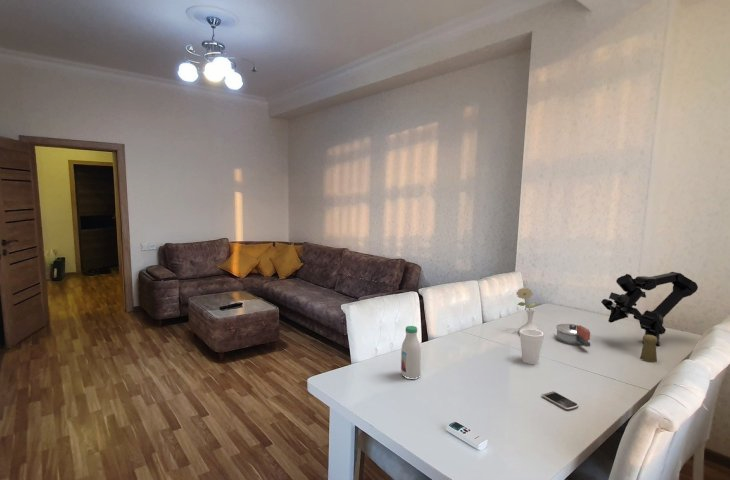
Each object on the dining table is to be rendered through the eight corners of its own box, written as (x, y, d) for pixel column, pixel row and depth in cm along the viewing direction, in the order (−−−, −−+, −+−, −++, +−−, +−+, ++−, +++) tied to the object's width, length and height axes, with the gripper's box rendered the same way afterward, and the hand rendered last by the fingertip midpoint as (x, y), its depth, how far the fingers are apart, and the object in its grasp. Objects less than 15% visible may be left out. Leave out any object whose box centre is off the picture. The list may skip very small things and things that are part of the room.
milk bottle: (422, 373, 155) (422, 325, 153) (418, 381, 148) (419, 331, 146) (403, 370, 158) (404, 323, 156) (399, 378, 151) (399, 329, 149)
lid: (551, 325, 199) (552, 316, 199) (581, 326, 198) (581, 317, 197) (570, 341, 176) (571, 331, 176) (604, 342, 175) (605, 332, 174)
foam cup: (542, 359, 169) (543, 330, 168) (542, 367, 161) (543, 337, 159) (519, 355, 173) (520, 327, 172) (518, 363, 165) (519, 334, 163)
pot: (549, 333, 202) (550, 324, 201) (577, 334, 201) (577, 325, 200) (571, 351, 177) (571, 341, 177) (602, 352, 176) (603, 342, 176)
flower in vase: (542, 333, 201) (545, 287, 199) (539, 340, 192) (541, 291, 189) (516, 329, 208) (518, 284, 206) (512, 335, 199) (514, 288, 196)
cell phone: (567, 413, 127) (567, 409, 127) (539, 397, 137) (540, 393, 137) (579, 409, 130) (580, 405, 129) (551, 393, 140) (552, 390, 140)
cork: (660, 362, 165) (662, 338, 164) (644, 361, 166) (646, 337, 165) (652, 357, 171) (654, 333, 170) (637, 356, 172) (639, 332, 171)
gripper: (605, 282, 190) (584, 305, 190) (638, 291, 172) (615, 316, 171) (618, 297, 193) (597, 320, 192) (652, 307, 174) (629, 332, 174)
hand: (609, 321), depth 182 cm, fingers closed
